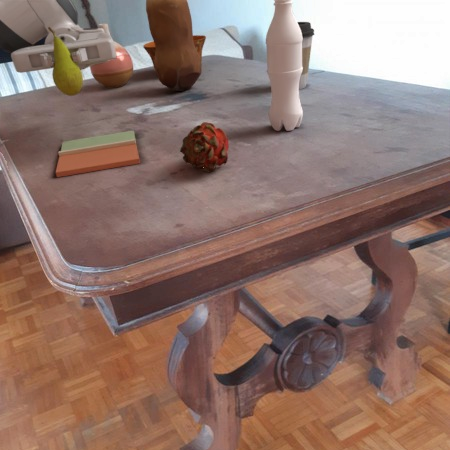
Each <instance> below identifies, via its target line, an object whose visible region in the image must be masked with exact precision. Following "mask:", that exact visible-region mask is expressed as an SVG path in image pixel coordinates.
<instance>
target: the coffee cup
mask: <svg viewBox="0 0 450 450" xmlns="http://www.w3.org/2000/svg"><path fill="white" fill-rule="evenodd" d="M297 23H298V25H299V27H300V29H301V32H302V37H303V41H302V67H303V71H302V73H301V76H300V81H299V90H301V89H304V88H306V87H307V83H308V78H309V77H308V76H309V69H310V60H311V51H312V43H313V36H315V29H314V28H312V24H311V22H309V21H297Z"/></svg>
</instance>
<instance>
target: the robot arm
mask: <svg viewBox="0 0 450 450" xmlns="http://www.w3.org/2000/svg"><path fill="white" fill-rule="evenodd" d="M48 27H50V28H51V29H52V30H53V32H54V34H55V36H56V37H58V38H59V39H60V40H61V41H62V42H63V43H64V44H65V46H66V47H67V49H68V50H69V52H70V54H71V56H72V58H73V62H74V63H76V64H77V66H78V67H79V68H80V70H81V71H82V70H86V69H88V68H90V66H93V65H97V64H101V63H105V62H109V61H110V60H113V59H116V52H115V47H114V42H113V41H114V40H113V37H112V36H111V34H110V35H109V34H108V33H105V32H104V29H103V28H98V27H84V28H83V27H81V26H80V25H79V13H78V10H77V8H76V5H74V3H73V0H0V49H1V50H2V51H3V52H6V53H9V54H10V58H11V60H12V64H13V67H14V69H15V71H16V73H20V74H21V73H30V72H35V71H44V70H48V69H49V70H50V69H53V68H54V64H55V59H54V42H53V39H54V35H53V33H52V32H51V31H50V30H49V29H48ZM44 38H45V40H44V44H41V45H40V44H39V45H35V44H36V43H37V42H39V41H40V40H42V39H44Z"/></svg>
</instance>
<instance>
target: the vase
mask: <svg viewBox="0 0 450 450" xmlns="http://www.w3.org/2000/svg"><path fill="white" fill-rule="evenodd" d="M97 28H103V29H104V32H105V33H108V34H109V35H110V36H111V33H110V28H109V24H108V23H99V24H97ZM113 42H114V47H115V52H116V59H113V60H110V61H109V62H105V63H101V64H97V65H93V66H90V67H89V70H90V74H91V75H92V77H93V79H94V80H95V81H96V82H97V83H99V84H101V85H102V86H103V87H105V88H109V89H114V88H120V87H123V86H126V85H127V84H128V81H129V80H131V78H132V76H133V73H134V63H133V59H132V57H131V55H130V53H129V51H128V50H127V49H126V48H125V47H124V46H123V45H121V44H120V43H119V42H117V41H115V40H113Z"/></svg>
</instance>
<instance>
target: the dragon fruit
mask: <svg viewBox="0 0 450 450" xmlns="http://www.w3.org/2000/svg"><path fill="white" fill-rule="evenodd" d="M229 147H230V146H229V139H228V137H227V133H226V132H225V131H224V129H222V128H220V127H218V128H217V127H216V126H215V125H214V123H212V122H208V121H204V122H203V121H202V122H201V124H198V125H196V126H195V127H193V128H192V129H191V130H190V132H189V133H187V135H186V136H185V137H184V138H183V139H182V146H181V147H180V150H179V152H180V153H181V154H183V156H182V160H183V162H185V163H186V164H189V165H190V166H192V167H194V168H195V169H199V170H200V171H204V172H209V173H210V172H212V171H214V170H215V168H216V166H218V167H221V166H222V165H224V166H225V165H226V164H227V162H228V158H229V157H228V151H229ZM203 167H204V168H203Z"/></svg>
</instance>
